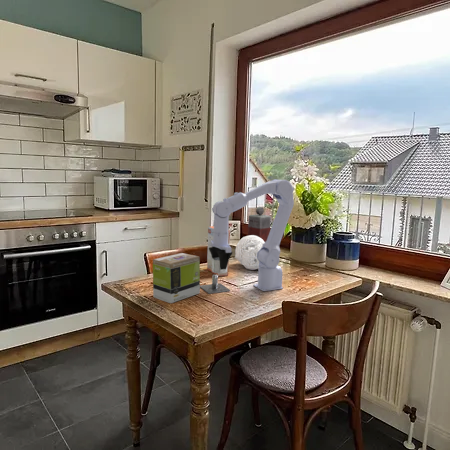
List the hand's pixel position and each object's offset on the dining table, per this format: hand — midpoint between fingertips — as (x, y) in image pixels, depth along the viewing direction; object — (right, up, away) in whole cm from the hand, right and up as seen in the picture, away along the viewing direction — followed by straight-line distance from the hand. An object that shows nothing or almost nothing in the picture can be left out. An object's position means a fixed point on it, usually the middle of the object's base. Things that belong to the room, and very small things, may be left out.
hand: (219, 267), depth 140 cm
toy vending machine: (+20, -1, +63) cm, 66 cm away
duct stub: (-2, -9, +3) cm, 10 cm away
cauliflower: (+17, -5, +39) cm, 42 cm away
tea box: (-16, -10, -6) cm, 20 cm away
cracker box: (-1, -6, +28) cm, 28 cm away
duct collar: (0, -2, 0) cm, 2 cm away
